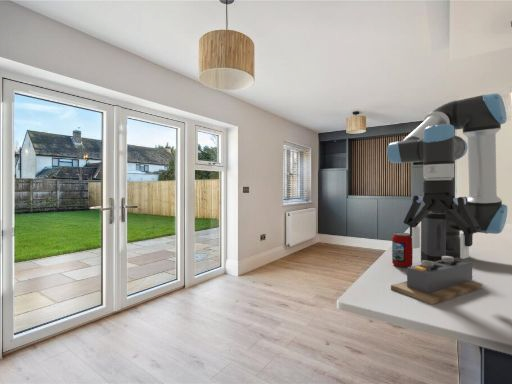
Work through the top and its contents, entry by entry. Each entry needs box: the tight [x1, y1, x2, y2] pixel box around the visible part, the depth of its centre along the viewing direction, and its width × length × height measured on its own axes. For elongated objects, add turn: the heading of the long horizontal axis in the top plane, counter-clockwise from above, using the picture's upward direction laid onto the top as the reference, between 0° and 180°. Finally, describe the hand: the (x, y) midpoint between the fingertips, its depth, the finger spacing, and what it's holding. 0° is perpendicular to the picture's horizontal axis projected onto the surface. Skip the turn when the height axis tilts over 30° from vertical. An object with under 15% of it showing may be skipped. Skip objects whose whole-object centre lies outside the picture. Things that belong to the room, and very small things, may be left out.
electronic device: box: [420, 211, 446, 262], centre depth 104 cm, size 9×6×20 cm, turn 168°
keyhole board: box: [390, 256, 483, 305], centre depth 82 cm, size 24×12×8 cm, turn 118°
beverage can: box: [391, 232, 414, 268], centre depth 106 cm, size 7×7×12 cm
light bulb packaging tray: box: [406, 258, 473, 294], centre depth 83 cm, size 22×6×6 cm, turn 118°
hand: (438, 252), depth 82 cm, fingers open, 13 cm apart
